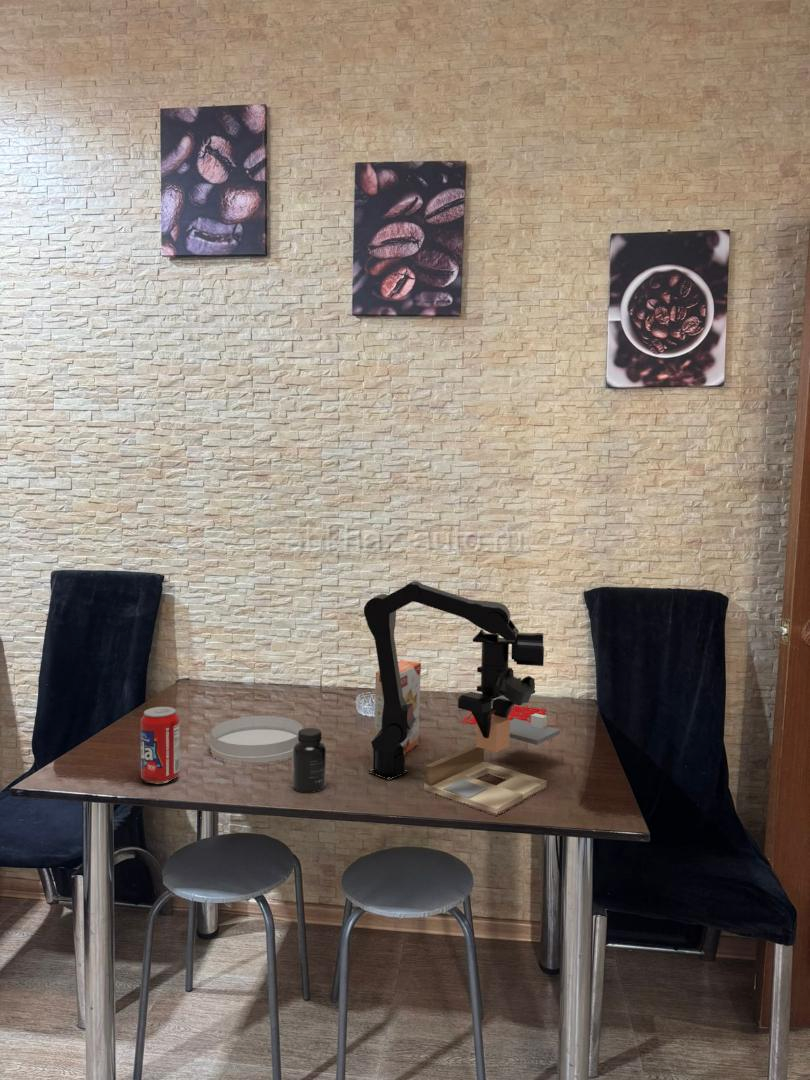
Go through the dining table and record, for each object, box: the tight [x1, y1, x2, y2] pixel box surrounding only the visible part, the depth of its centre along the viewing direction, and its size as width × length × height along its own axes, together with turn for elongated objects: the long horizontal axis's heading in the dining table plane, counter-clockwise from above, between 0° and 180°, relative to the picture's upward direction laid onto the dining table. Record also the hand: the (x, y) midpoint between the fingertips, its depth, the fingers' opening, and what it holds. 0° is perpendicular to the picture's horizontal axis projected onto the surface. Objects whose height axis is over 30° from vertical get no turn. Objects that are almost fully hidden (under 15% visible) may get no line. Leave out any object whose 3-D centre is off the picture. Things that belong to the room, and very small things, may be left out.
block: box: [476, 714, 510, 753], centre depth 162 cm, size 5×5×6 cm
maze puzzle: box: [460, 705, 547, 725], centre depth 210 cm, size 20×20×1 cm
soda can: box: [140, 706, 181, 781], centre depth 161 cm, size 8×8×15 cm
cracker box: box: [373, 660, 422, 755], centre depth 179 cm, size 14×6×21 cm, turn 155°
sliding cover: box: [510, 713, 561, 746], centre depth 174 cm, size 13×10×5 cm
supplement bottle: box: [292, 727, 327, 793], centre depth 158 cm, size 7×7×12 cm
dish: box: [209, 715, 304, 762], centre depth 181 cm, size 22×22×5 cm
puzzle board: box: [423, 743, 548, 814], centre depth 159 cm, size 18×19×6 cm
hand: (493, 734), depth 162 cm, fingers closed on block, 5 cm apart
